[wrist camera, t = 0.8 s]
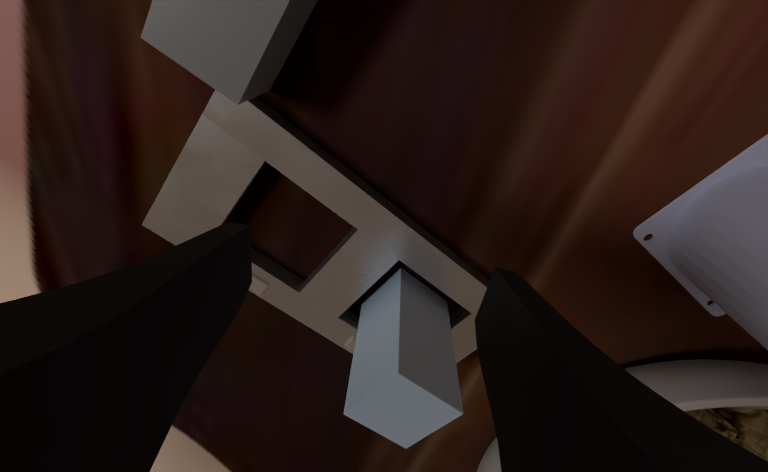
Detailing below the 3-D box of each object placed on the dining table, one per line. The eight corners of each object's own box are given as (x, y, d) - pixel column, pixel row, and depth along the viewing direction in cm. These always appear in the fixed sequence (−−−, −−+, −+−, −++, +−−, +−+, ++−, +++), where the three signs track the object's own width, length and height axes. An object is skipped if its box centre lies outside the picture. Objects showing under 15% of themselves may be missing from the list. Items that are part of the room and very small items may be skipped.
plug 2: (447, 301, 24) (463, 413, 17) (406, 334, 25) (406, 448, 18) (401, 267, 23) (398, 373, 16) (361, 304, 24) (343, 414, 17)
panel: (518, 303, 23) (524, 318, 22) (414, 378, 28) (415, 394, 26) (231, 76, 18) (218, 80, 16) (154, 215, 22) (139, 226, 20)
